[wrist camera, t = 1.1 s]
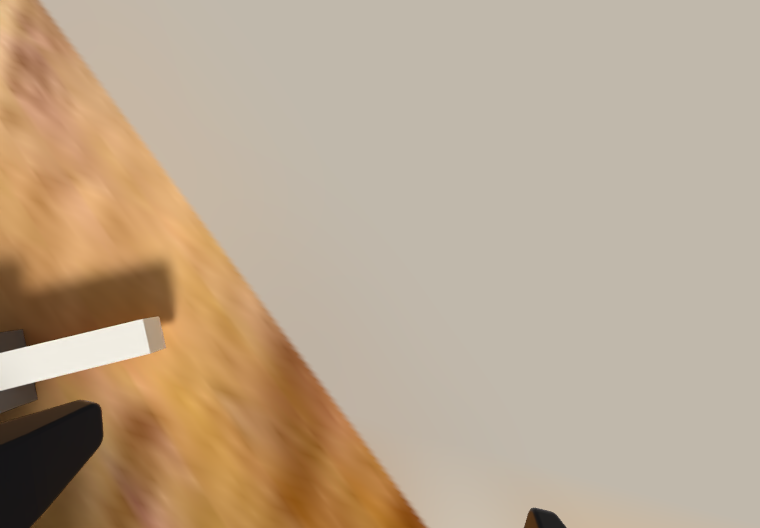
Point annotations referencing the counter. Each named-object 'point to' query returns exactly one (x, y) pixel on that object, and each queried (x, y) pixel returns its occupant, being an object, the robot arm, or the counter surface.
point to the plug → (69, 356)
